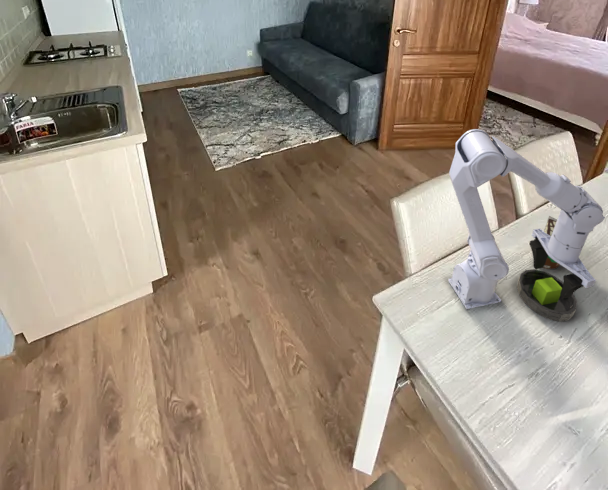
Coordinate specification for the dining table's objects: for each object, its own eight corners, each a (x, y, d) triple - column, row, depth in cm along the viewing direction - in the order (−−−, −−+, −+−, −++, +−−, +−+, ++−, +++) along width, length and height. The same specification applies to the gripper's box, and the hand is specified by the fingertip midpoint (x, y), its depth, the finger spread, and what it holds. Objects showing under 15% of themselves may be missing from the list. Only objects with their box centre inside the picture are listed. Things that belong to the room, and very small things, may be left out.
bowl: (571, 333, 77) (575, 324, 76) (512, 302, 84) (515, 293, 82) (574, 295, 85) (578, 287, 84) (520, 269, 92) (523, 261, 91)
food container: (563, 283, 88) (575, 254, 85) (535, 270, 92) (545, 242, 88) (565, 251, 97) (576, 224, 94) (539, 241, 101) (549, 214, 97)
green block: (541, 305, 82) (547, 292, 81) (531, 293, 85) (536, 280, 84) (557, 301, 83) (563, 288, 82) (546, 289, 86) (551, 277, 84)
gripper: (615, 262, 71) (593, 307, 76) (555, 212, 84) (540, 253, 89) (587, 268, 70) (567, 313, 75) (530, 216, 83) (516, 258, 88)
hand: (551, 281), depth 82 cm, fingers open, 7 cm apart
